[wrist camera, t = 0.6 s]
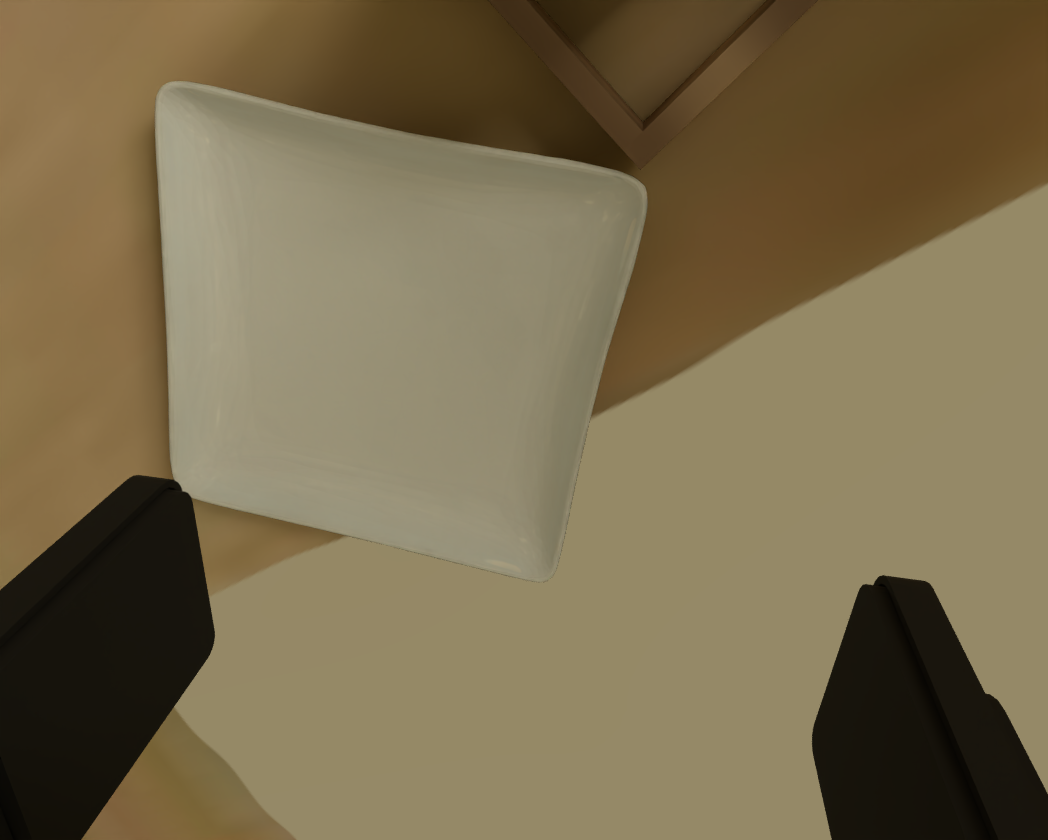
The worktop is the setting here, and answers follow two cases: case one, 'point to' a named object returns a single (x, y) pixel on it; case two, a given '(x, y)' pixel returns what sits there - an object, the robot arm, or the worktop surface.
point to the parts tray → (682, 106)
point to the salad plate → (384, 325)
